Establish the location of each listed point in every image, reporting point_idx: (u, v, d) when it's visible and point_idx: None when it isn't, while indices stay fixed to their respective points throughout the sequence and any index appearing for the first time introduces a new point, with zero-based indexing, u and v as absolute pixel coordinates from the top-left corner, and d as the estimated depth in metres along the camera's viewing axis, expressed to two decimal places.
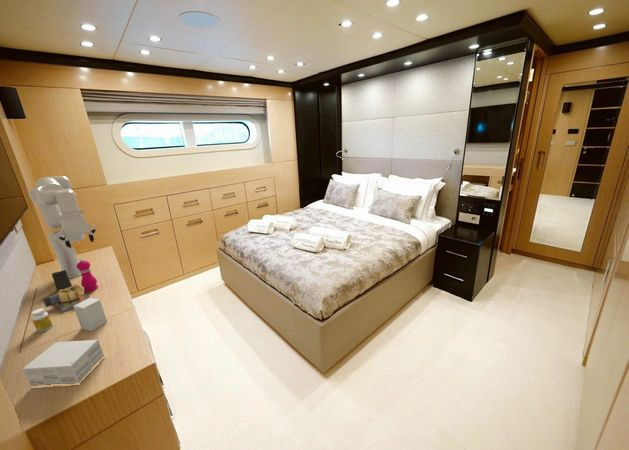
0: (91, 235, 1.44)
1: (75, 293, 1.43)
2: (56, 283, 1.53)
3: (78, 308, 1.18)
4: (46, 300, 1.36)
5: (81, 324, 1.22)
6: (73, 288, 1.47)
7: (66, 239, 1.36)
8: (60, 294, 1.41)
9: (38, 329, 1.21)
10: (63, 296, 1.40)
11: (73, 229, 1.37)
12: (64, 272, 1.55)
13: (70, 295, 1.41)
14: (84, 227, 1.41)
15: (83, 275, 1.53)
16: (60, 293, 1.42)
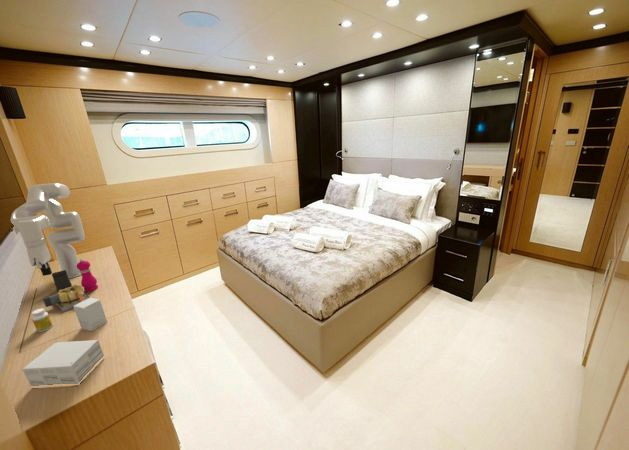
0: None
1: (75, 293, 1.43)
2: (56, 283, 1.53)
3: (78, 308, 1.19)
4: (46, 300, 1.36)
5: (81, 324, 1.22)
6: (73, 288, 1.47)
7: (46, 266, 1.38)
8: (60, 294, 1.41)
9: (38, 329, 1.21)
10: (63, 296, 1.40)
11: (44, 256, 1.37)
12: (64, 272, 1.55)
13: (70, 295, 1.41)
14: (49, 253, 1.41)
15: (83, 275, 1.53)
16: (60, 293, 1.42)
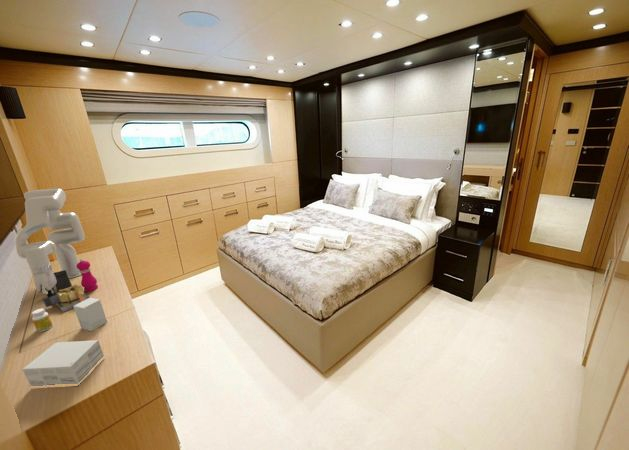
0: (55, 291, 1.42)
1: (75, 293, 1.43)
2: (56, 283, 1.53)
3: (78, 308, 1.19)
4: (46, 301, 1.36)
5: (81, 324, 1.22)
6: (73, 288, 1.47)
7: (52, 291, 1.40)
8: (60, 294, 1.41)
9: (38, 329, 1.21)
10: (63, 296, 1.40)
11: (50, 282, 1.38)
12: (64, 272, 1.55)
13: (70, 295, 1.41)
14: (54, 278, 1.42)
15: (83, 275, 1.53)
16: (60, 293, 1.42)
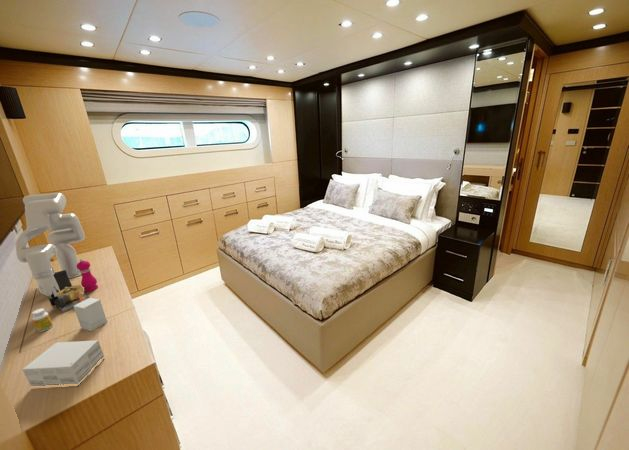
0: (56, 295, 1.39)
1: (81, 289, 1.47)
2: None
3: (78, 308, 1.19)
4: (60, 301, 1.36)
5: (81, 324, 1.22)
6: (67, 290, 1.46)
7: None
8: (66, 294, 1.41)
9: (38, 329, 1.21)
10: (73, 293, 1.42)
11: None
12: (64, 272, 1.55)
13: (79, 291, 1.45)
14: None
15: (83, 275, 1.53)
16: (64, 294, 1.41)
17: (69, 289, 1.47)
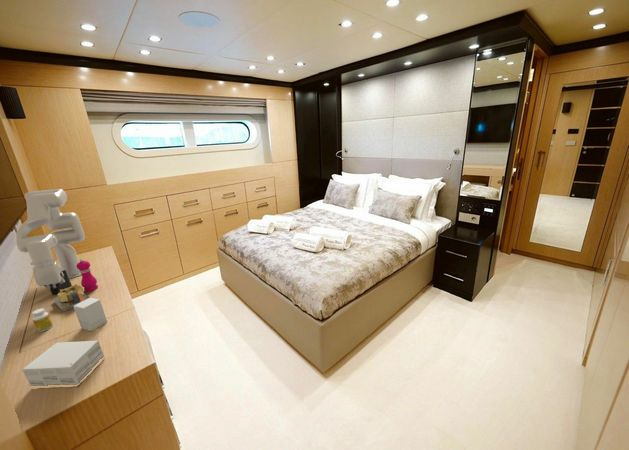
0: None
1: (81, 287, 1.49)
2: None
3: (78, 308, 1.18)
4: (77, 296, 1.40)
5: (81, 324, 1.22)
6: (63, 292, 1.44)
7: None
8: (73, 292, 1.43)
9: (38, 329, 1.21)
10: (80, 290, 1.45)
11: None
12: (64, 272, 1.55)
13: None
14: None
15: (83, 275, 1.53)
16: (70, 293, 1.42)
17: (64, 291, 1.45)
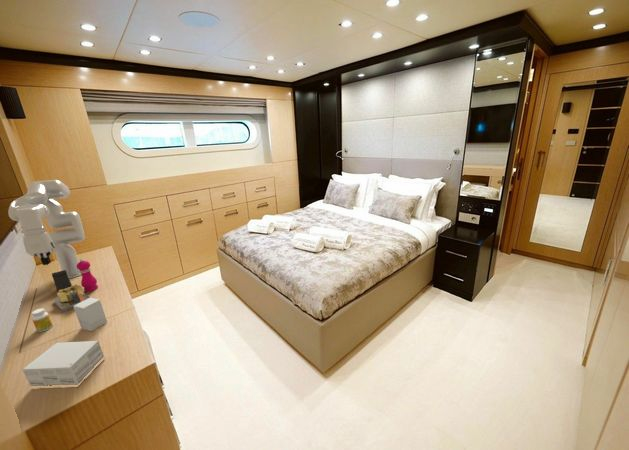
0: None
1: (81, 287, 1.49)
2: (56, 283, 1.53)
3: (78, 308, 1.19)
4: (77, 296, 1.40)
5: (81, 324, 1.22)
6: (63, 292, 1.44)
7: None
8: (73, 292, 1.43)
9: (38, 329, 1.21)
10: (80, 290, 1.45)
11: None
12: (64, 272, 1.55)
13: None
14: None
15: (83, 275, 1.53)
16: (70, 293, 1.42)
17: (64, 291, 1.45)
